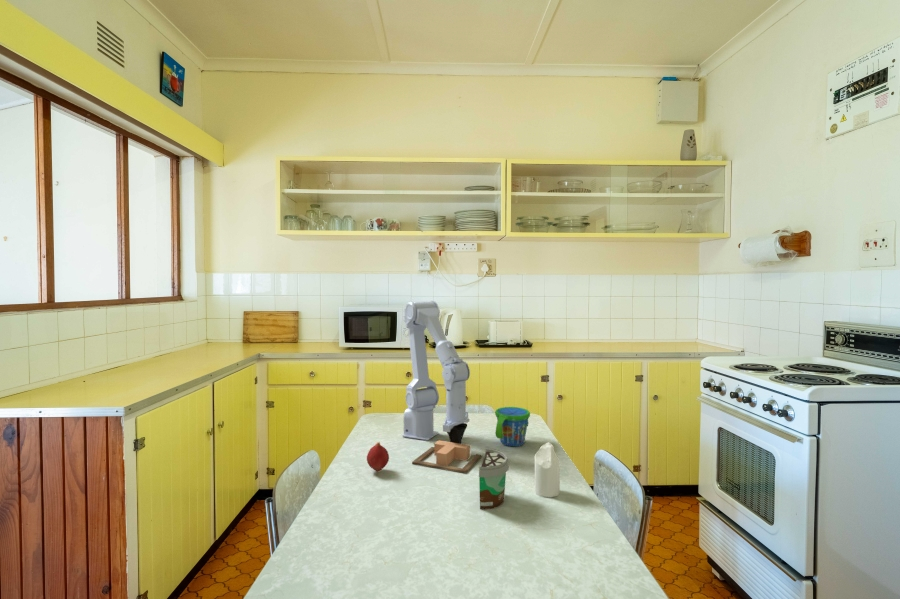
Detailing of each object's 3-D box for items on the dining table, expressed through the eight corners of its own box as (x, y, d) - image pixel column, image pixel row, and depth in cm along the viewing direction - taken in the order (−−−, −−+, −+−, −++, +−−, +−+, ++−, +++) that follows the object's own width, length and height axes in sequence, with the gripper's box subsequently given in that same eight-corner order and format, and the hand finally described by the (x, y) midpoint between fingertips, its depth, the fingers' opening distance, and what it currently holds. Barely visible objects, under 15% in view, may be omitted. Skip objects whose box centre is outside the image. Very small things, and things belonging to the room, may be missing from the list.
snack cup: (514, 433, 155) (514, 402, 154) (541, 441, 147) (541, 409, 147) (483, 444, 144) (483, 412, 144) (509, 454, 136) (509, 419, 136)
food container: (506, 515, 101) (507, 470, 101) (478, 512, 103) (478, 467, 102) (510, 489, 113) (511, 449, 113) (485, 487, 115) (485, 447, 114)
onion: (362, 473, 123) (362, 443, 123) (375, 465, 128) (375, 437, 128) (380, 477, 121) (380, 447, 120) (393, 469, 126) (392, 440, 125)
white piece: (533, 446, 110) (535, 438, 115) (533, 495, 110) (535, 485, 116) (559, 448, 108) (560, 440, 114) (559, 498, 109) (560, 488, 114)
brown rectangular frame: (412, 463, 129) (412, 461, 129) (431, 448, 141) (431, 446, 141) (465, 473, 123) (465, 471, 123) (481, 456, 134) (481, 454, 134)
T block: (438, 451, 138) (438, 440, 138) (470, 457, 134) (470, 445, 134) (425, 462, 130) (424, 450, 130) (457, 468, 126) (457, 456, 126)
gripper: (459, 411, 129) (459, 459, 129) (477, 398, 142) (477, 442, 143) (436, 408, 132) (436, 455, 132) (456, 396, 145) (456, 439, 145)
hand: (456, 448), depth 138 cm, fingers closed
